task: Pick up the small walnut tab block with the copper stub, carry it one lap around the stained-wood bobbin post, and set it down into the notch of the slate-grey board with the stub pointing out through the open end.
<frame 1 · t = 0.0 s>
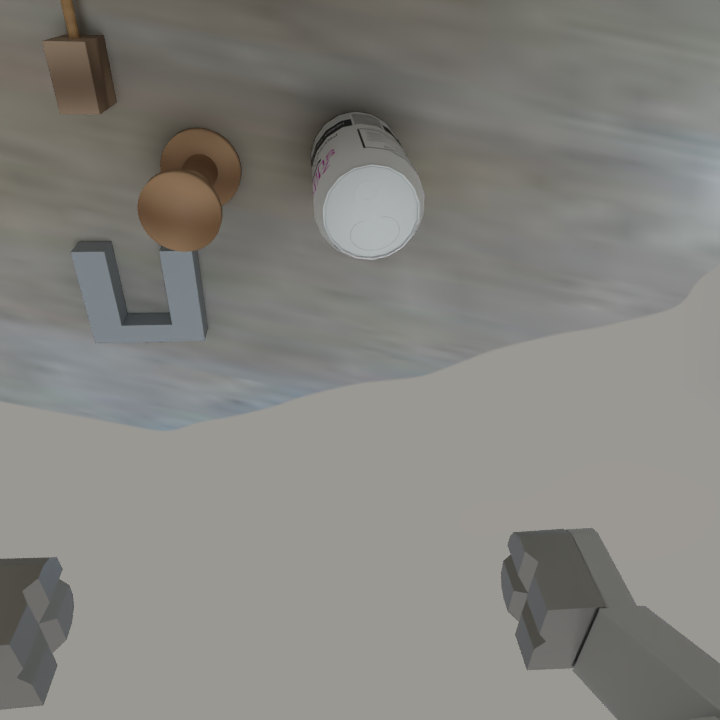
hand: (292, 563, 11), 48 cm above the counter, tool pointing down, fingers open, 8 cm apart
bobbin: (202, 168, 53), on the counter
notch board: (147, 287, 59), on the counter
tab: (91, 69, 48), on the counter
supplement can: (355, 157, 54), on the counter
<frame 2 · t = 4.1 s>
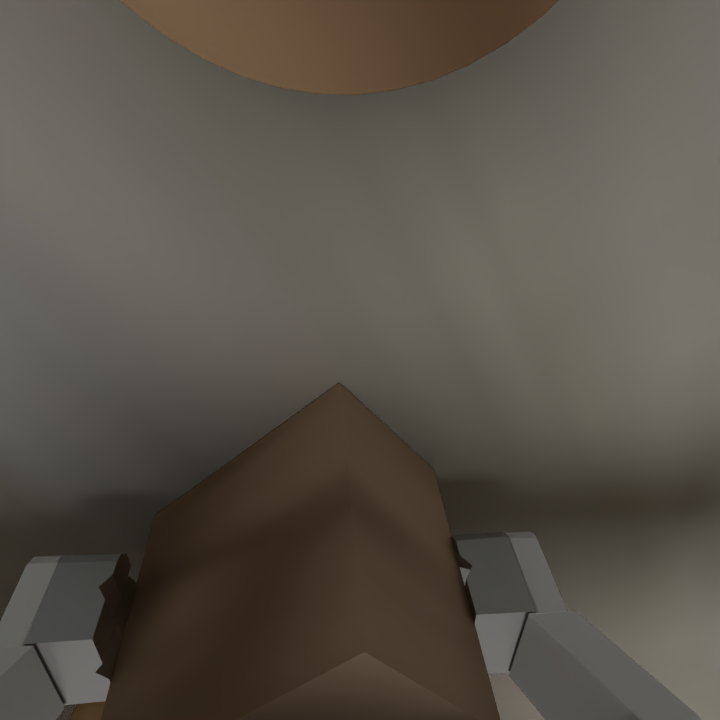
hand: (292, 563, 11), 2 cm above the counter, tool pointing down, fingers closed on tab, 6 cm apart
tab: (293, 492, 12), on the counter, touching gripper
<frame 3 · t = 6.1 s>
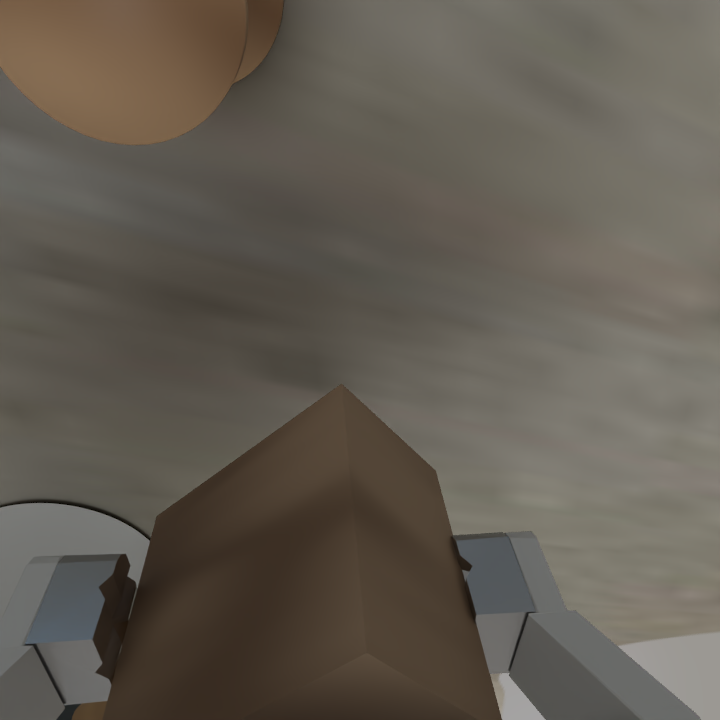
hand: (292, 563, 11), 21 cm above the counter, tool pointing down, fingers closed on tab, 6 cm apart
tab: (295, 493, 12), point 19 cm above the counter, touching gripper
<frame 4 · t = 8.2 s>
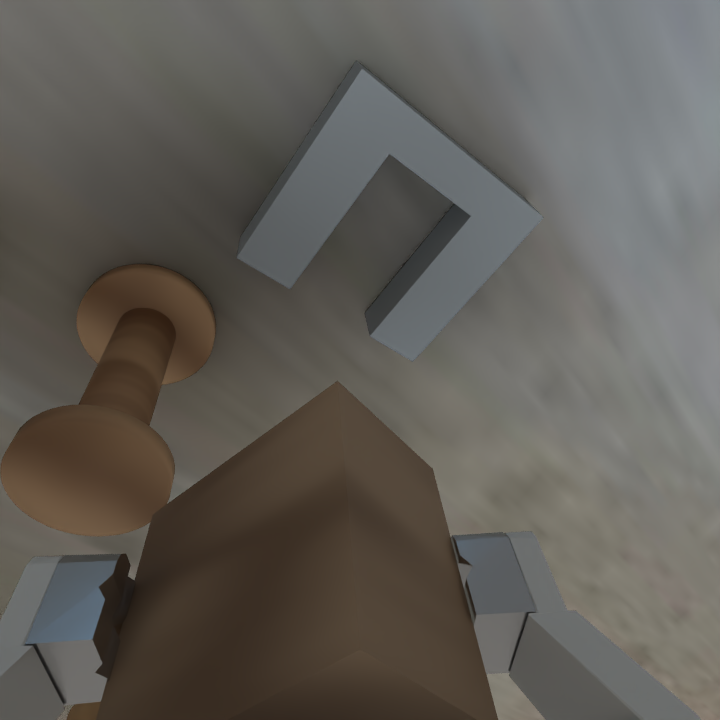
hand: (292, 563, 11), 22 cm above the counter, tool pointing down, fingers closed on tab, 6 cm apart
bobbin: (150, 322, 32), on the counter
notch board: (384, 218, 30), on the counter
tab: (292, 491, 12), point 20 cm above the counter, touching gripper
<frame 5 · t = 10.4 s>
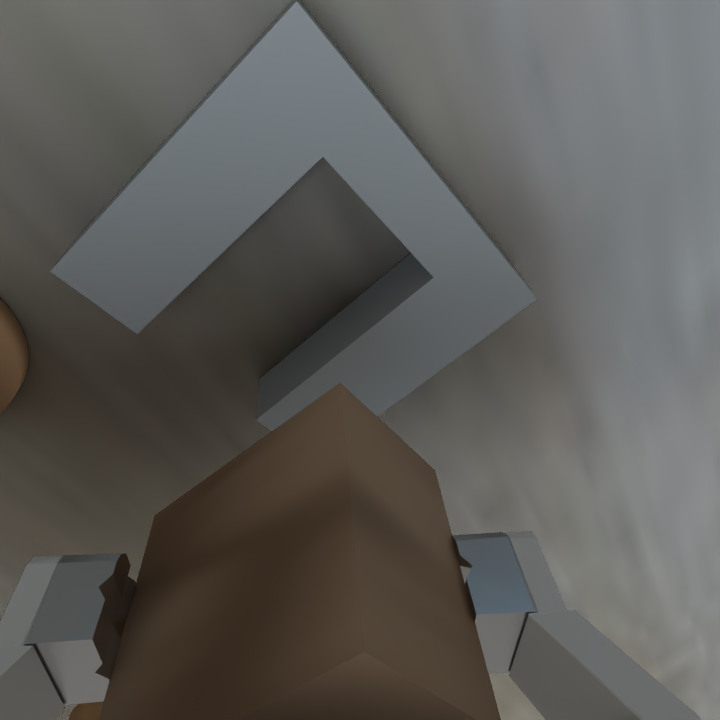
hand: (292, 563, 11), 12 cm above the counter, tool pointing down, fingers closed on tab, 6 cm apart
notch board: (306, 252, 20), on the counter
tab: (294, 492, 12), point 10 cm above the counter, touching gripper
when the fingers open (3 cm above the counter, at t = 12.5 s): tab drops 2 cm, on the counter.
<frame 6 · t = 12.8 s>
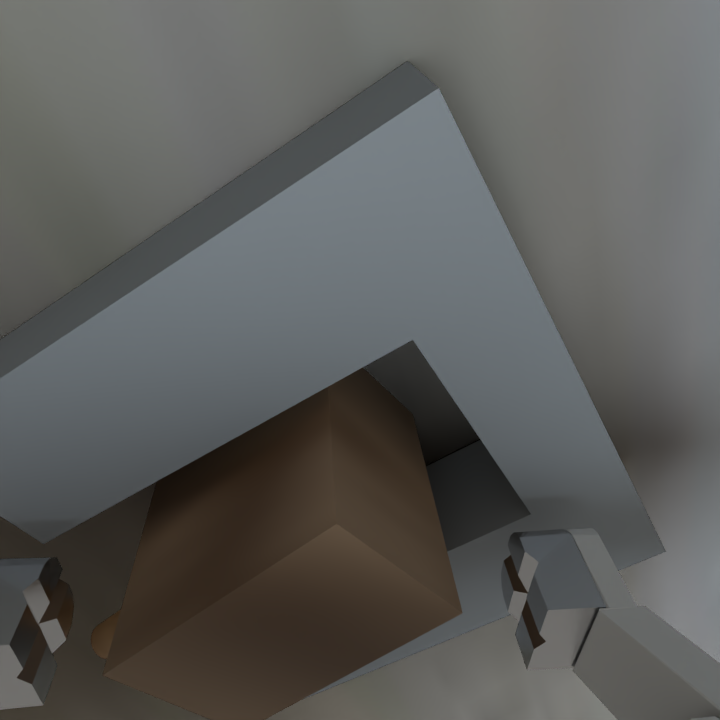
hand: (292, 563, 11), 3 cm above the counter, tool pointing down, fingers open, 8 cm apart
notch board: (332, 422, 13), on the counter
tab: (287, 435, 13), on the counter
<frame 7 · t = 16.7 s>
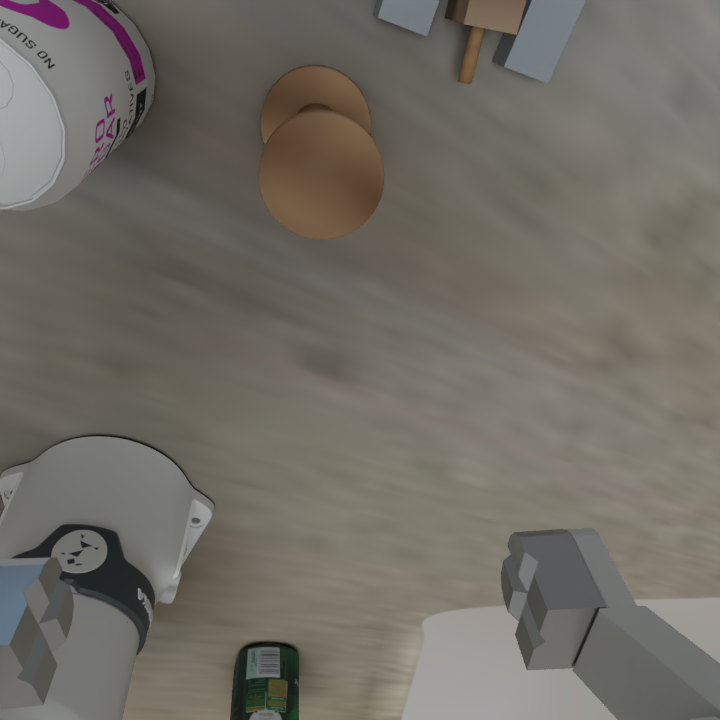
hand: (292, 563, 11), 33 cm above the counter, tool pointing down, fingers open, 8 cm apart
coffee jar: (267, 659, 73), on the counter
bobbin: (316, 124, 38), on the counter
supplement can: (87, 66, 35), on the counter
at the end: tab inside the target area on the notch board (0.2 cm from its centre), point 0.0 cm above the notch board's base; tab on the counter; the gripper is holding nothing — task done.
